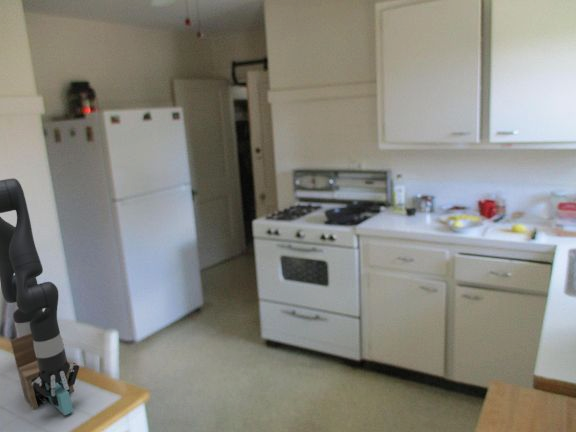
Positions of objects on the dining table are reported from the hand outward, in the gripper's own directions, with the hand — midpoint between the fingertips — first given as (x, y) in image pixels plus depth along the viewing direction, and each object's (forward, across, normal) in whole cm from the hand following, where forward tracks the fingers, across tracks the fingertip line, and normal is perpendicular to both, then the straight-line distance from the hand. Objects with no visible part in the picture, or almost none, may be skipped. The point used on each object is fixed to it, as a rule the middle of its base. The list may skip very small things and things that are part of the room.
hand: (61, 402), depth 145 cm
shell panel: (+2, 0, -2) cm, 3 cm away
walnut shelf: (+2, 0, -12) cm, 12 cm away
